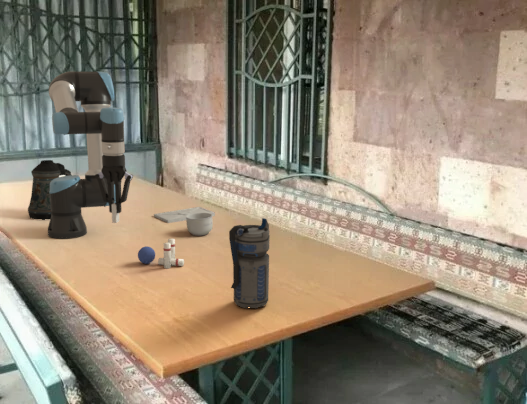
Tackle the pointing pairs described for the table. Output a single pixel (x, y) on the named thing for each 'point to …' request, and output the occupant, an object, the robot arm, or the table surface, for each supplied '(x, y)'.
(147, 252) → the ball
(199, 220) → the teacup
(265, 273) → the beverage bottle
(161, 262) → the front pin
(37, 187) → the beer stein
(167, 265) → the pin
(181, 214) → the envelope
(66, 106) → the robot arm
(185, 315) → the table surface
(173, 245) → the pin
